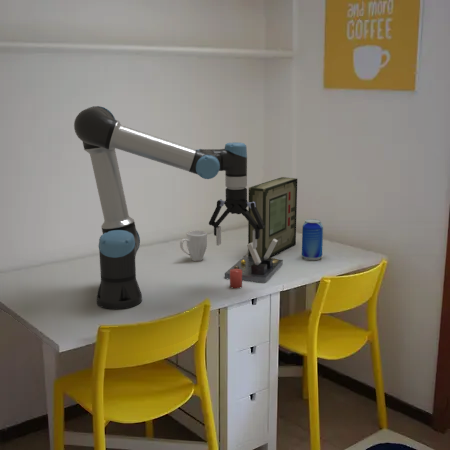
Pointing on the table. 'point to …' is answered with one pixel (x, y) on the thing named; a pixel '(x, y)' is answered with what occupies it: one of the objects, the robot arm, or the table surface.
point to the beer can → (312, 239)
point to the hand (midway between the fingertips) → (236, 246)
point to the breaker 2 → (270, 249)
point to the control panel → (274, 214)
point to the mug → (195, 244)
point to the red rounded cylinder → (236, 278)
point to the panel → (254, 276)
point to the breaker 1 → (254, 254)
